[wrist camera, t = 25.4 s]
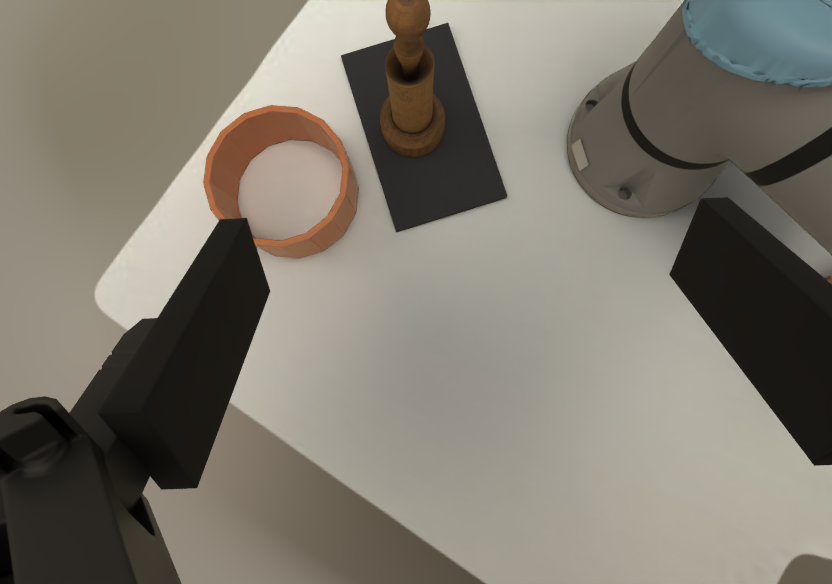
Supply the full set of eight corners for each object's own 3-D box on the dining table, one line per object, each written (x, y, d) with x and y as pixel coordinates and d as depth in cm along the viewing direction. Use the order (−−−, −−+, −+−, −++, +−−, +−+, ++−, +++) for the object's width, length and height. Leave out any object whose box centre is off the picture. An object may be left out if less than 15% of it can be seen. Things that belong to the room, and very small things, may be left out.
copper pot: (337, 119, 47) (324, 88, 41) (373, 235, 46) (365, 221, 40) (218, 156, 47) (188, 130, 41) (251, 273, 46) (225, 264, 40)
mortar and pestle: (372, 145, 46) (340, 25, 28) (394, 89, 46) (376, -63, 29) (431, 166, 46) (438, 59, 28) (453, 110, 46) (473, -31, 28)
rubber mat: (447, 26, 48) (448, 22, 47) (506, 198, 46) (507, 196, 45) (341, 58, 48) (340, 55, 47) (396, 232, 46) (396, 231, 45)
